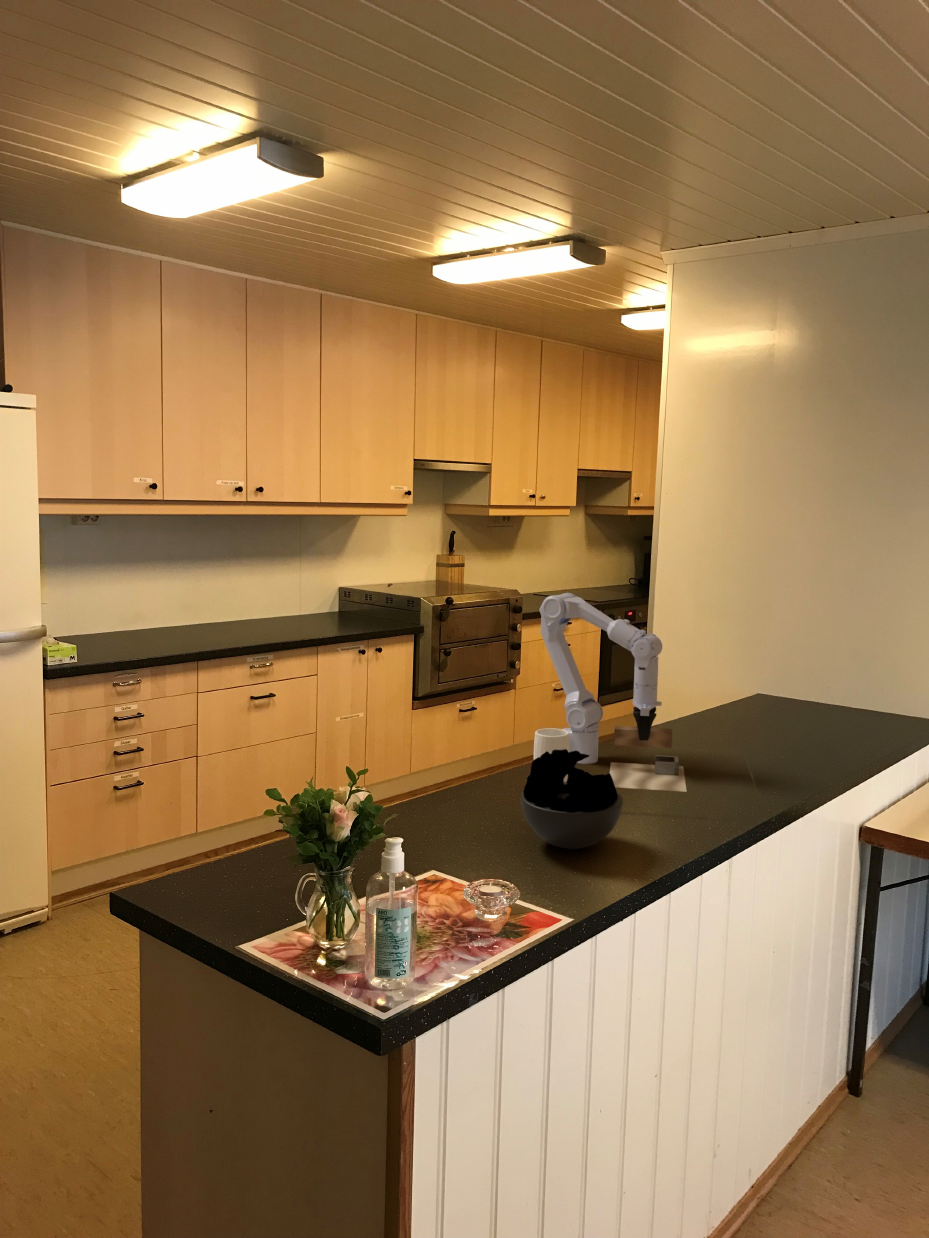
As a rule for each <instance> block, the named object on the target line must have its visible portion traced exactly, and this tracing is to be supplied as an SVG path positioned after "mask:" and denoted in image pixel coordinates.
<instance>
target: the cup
mask: <svg viewBox="0 0 929 1238" xmlns="http://www.w3.org/2000/svg"><path fill="white" fill-rule="evenodd" d="M563 749H567V750H568V752H570V740H569V732H568V731H566V730H563V728H553V727H552V728H551V727H550V728H549V727H547V728H540V729H537V730H536V731H535V732H534V742H533V760H535V759H536V758H538V757H540V756H541V755H542V754H544V753H545V752H549V753H550V754H551V753H552V751H553V750H563ZM567 779H568V774H567V775H566V776H565V778H564V782H567Z"/></svg>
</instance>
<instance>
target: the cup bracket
mask: <svg viewBox="0 0 929 1238" xmlns="http://www.w3.org/2000/svg"><path fill="white" fill-rule="evenodd" d="M654 755H655V756H654V765H655V774H658V775H675V776H679V766H680V761H679V756H677V755H663V754H659V755H658V754H654Z"/></svg>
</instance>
